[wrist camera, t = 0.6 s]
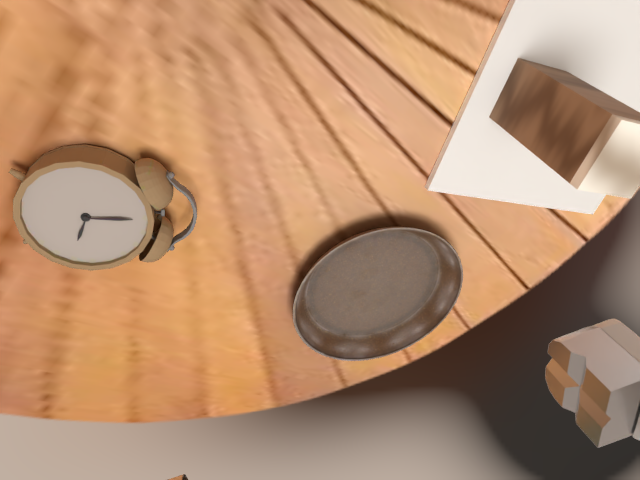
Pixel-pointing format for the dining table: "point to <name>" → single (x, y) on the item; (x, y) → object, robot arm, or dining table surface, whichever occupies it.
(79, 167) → the alarm clock
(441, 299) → the plant saucer
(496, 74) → the white mat
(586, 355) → the robot arm
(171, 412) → the dining table surface
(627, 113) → the walnut block
